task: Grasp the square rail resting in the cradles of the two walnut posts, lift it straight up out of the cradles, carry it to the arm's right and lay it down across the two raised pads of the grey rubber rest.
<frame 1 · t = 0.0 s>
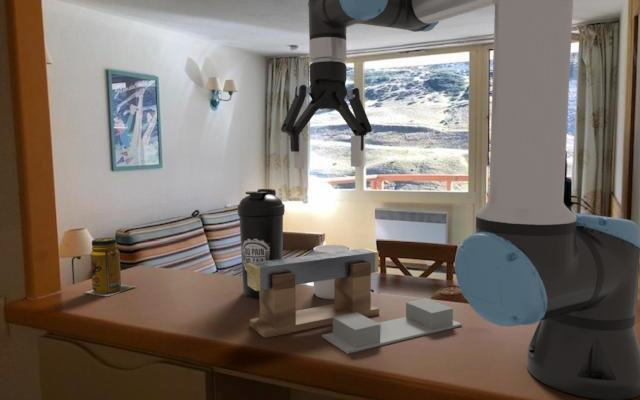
hand: (328, 167, 106), 28 cm above the worktop, fingers open, 13 cm apart
mug: (340, 296, 111), on the worktop
rack: (316, 319, 96), on the worktop
rail: (316, 278, 95), point 8 cm above the worktop, touching rack
water bottle: (262, 294, 113), on the worktop
rest: (393, 331, 90), on the worktop
condiment: (110, 291, 116), on the worktop
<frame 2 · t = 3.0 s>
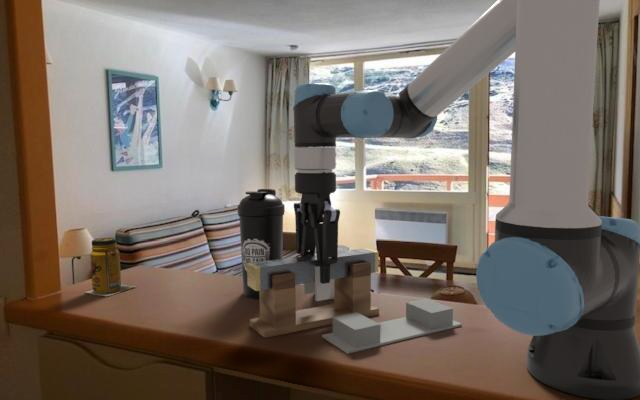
hand: (316, 295, 95), 5 cm above the worktop, fingers closed on rail, 4 cm apart
rail: (316, 278, 95), point 8 cm above the worktop, touching gripper, rack
everything else where it was.
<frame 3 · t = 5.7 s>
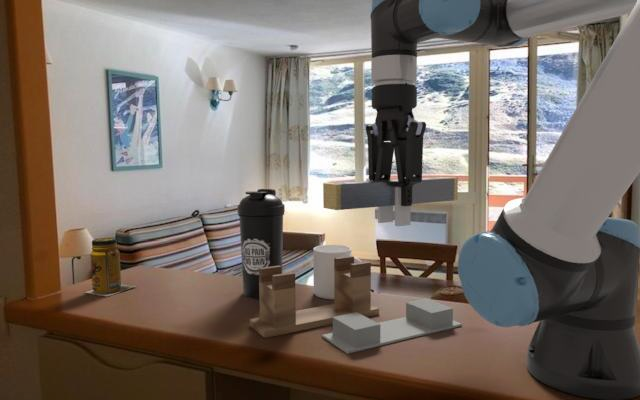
hand: (393, 223, 87), 19 cm above the worktop, fingers closed on rail, 4 cm apart
rail: (394, 203, 87), point 23 cm above the worktop, touching gripper
everything else where it was.
when the fingers open (2 cm above the worktop, at t = 8.2 s): rail drops 2 cm, resting on rest.
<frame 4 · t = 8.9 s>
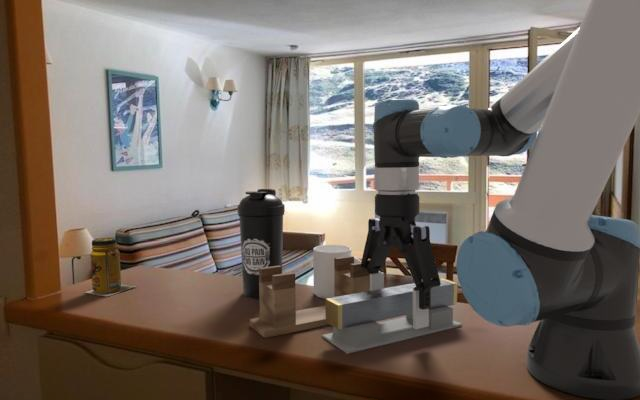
hand: (397, 317, 89), 3 cm above the worktop, fingers open, 11 cm apart
rail: (394, 312, 89), point 3 cm above the worktop, touching rest
everything else where it was.
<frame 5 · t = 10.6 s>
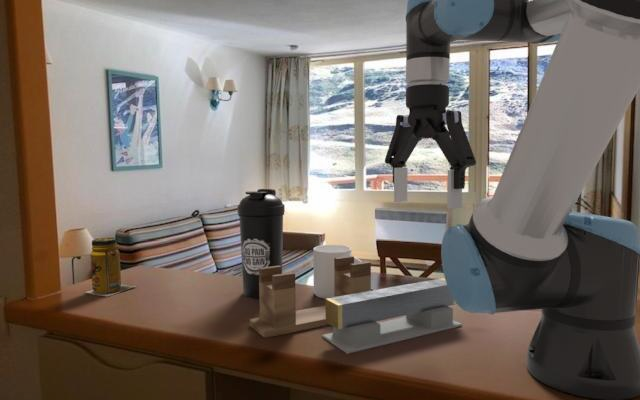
hand: (425, 204, 92), 22 cm above the worktop, fingers open, 13 cm apart
nothing on the worktop moved.
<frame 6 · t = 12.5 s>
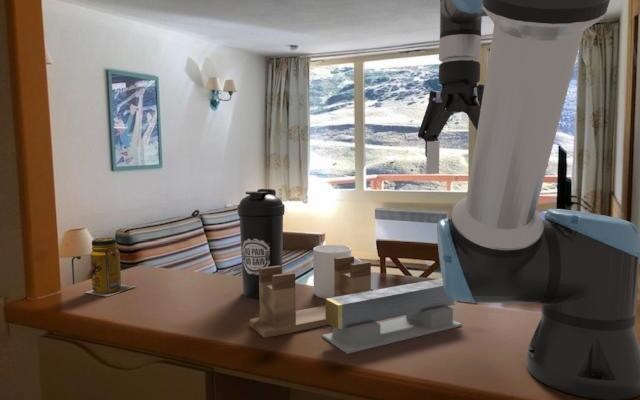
hand: (456, 175, 98), 27 cm above the worktop, fingers open, 13 cm apart
nothing on the worktop moved.
at the end: rail inside the target area on the rest (0.1 cm from its centre), point 3.4 cm above the rest's base; rail touching rest; the gripper is holding nothing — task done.
